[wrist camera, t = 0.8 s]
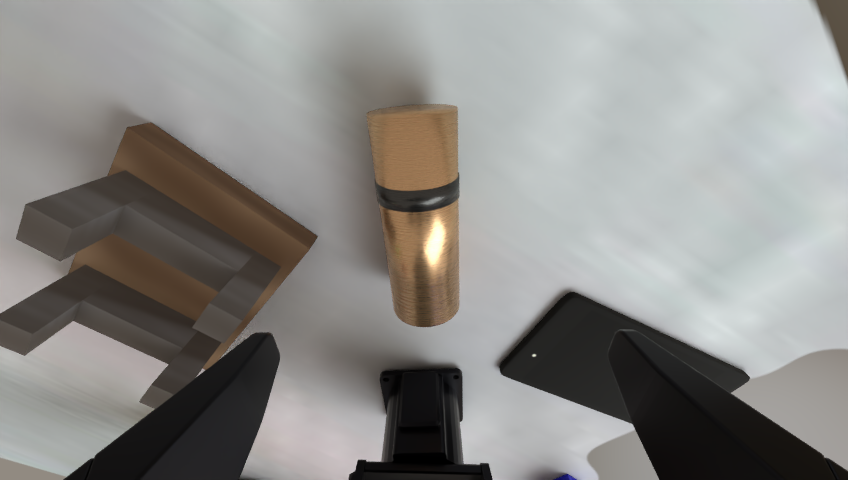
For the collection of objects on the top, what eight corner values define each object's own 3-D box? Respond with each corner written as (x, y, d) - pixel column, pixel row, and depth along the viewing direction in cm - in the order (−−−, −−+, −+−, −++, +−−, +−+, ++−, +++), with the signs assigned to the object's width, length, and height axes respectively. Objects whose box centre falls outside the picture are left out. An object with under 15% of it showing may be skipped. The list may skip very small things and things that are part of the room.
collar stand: (151, 122, 16) (18, 149, 11) (317, 236, 19) (276, 299, 14) (80, 285, 21) (-34, 357, 16) (220, 354, 24) (164, 434, 19)
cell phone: (658, 425, 29) (664, 436, 28) (495, 364, 25) (497, 374, 24) (743, 369, 25) (754, 379, 25) (567, 286, 21) (572, 295, 21)
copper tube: (458, 281, 21) (462, 326, 17) (396, 283, 21) (388, 328, 18) (456, 102, 16) (462, 113, 12) (374, 107, 16) (355, 120, 12)
